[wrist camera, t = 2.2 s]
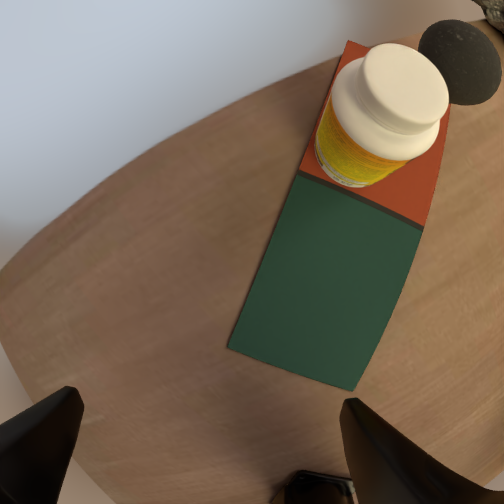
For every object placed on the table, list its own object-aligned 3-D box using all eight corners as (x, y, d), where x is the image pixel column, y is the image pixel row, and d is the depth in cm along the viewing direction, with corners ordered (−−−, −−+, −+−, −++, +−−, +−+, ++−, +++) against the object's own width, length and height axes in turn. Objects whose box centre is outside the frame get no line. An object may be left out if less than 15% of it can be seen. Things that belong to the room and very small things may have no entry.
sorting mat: (451, 92, 18) (452, 91, 18) (352, 390, 20) (352, 391, 20) (347, 41, 19) (348, 39, 19) (227, 346, 20) (227, 347, 20)
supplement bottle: (372, 203, 19) (450, 170, 9) (300, 166, 19) (321, 95, 9) (397, 138, 19) (470, 73, 9) (330, 103, 19) (364, 11, 9)
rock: (541, 35, 14) (528, 83, 19) (464, -11, 19) (447, 32, 24) (561, -10, 4) (555, 45, 9) (458, -66, 9) (441, -21, 14)
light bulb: (401, 140, 19) (473, 79, 9) (376, 77, 19) (421, -5, 9) (455, 134, 18) (531, 86, 8) (430, 75, 18) (486, 10, 8)
